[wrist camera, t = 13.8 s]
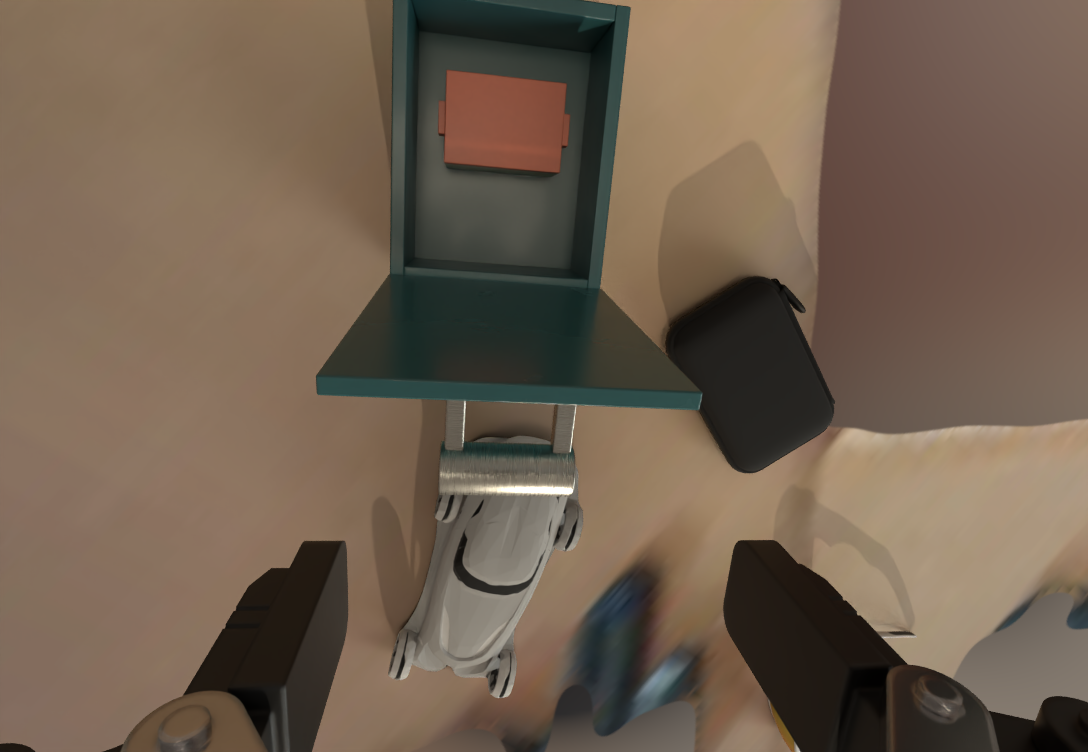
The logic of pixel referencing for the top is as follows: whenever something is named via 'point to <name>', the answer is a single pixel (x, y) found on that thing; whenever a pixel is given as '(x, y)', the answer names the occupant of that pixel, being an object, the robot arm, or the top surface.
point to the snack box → (503, 124)
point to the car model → (484, 580)
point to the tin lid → (503, 369)
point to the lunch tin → (498, 198)
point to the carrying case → (753, 372)
